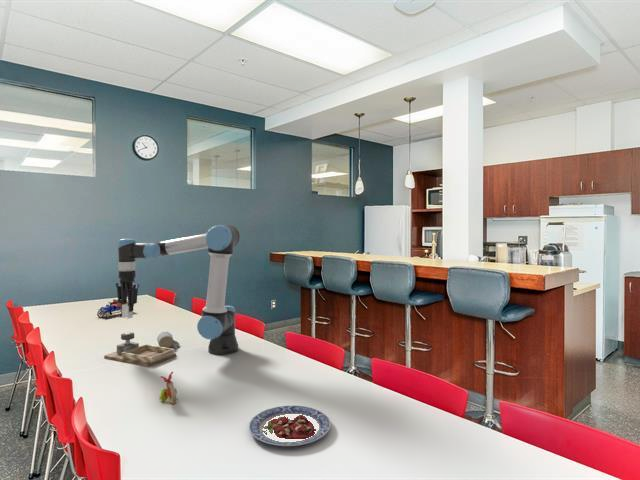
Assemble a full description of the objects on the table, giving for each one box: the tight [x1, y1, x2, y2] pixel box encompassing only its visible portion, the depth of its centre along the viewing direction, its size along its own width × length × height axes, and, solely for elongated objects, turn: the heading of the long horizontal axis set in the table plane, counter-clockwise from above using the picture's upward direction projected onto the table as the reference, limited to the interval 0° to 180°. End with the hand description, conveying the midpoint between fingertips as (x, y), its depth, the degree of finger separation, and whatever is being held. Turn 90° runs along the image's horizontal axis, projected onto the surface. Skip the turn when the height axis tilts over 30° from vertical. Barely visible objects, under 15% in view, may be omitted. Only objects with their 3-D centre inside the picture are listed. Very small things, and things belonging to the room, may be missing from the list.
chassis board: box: [103, 341, 177, 368], centre depth 198 cm, size 29×17×5 cm, turn 67°
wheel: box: [120, 332, 135, 345], centre depth 201 cm, size 6×6×6 cm
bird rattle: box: [158, 371, 178, 405], centre depth 148 cm, size 6×11×9 cm
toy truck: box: [96, 298, 135, 319], centre depth 289 cm, size 8×25×11 cm, turn 151°
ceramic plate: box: [248, 405, 332, 447], centre depth 129 cm, size 26×26×3 cm
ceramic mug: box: [156, 331, 180, 348], centre depth 214 cm, size 11×8×8 cm
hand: (127, 317), depth 201 cm, fingers open, 3 cm apart
